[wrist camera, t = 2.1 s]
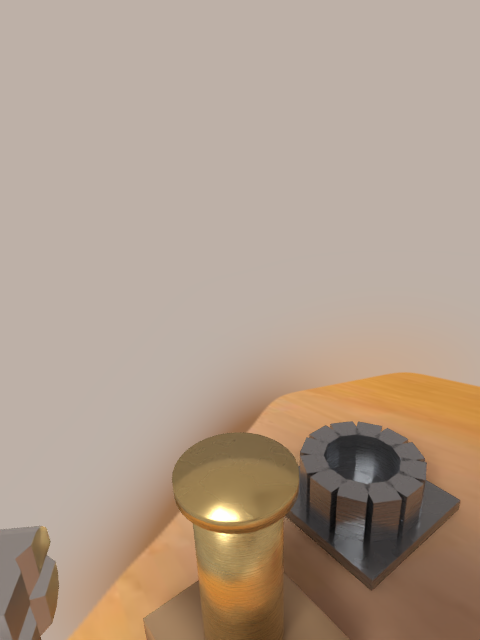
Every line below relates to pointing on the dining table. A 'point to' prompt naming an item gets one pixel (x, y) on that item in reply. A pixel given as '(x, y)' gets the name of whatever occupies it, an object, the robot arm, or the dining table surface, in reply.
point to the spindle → (238, 530)
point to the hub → (367, 498)
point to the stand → (187, 622)
